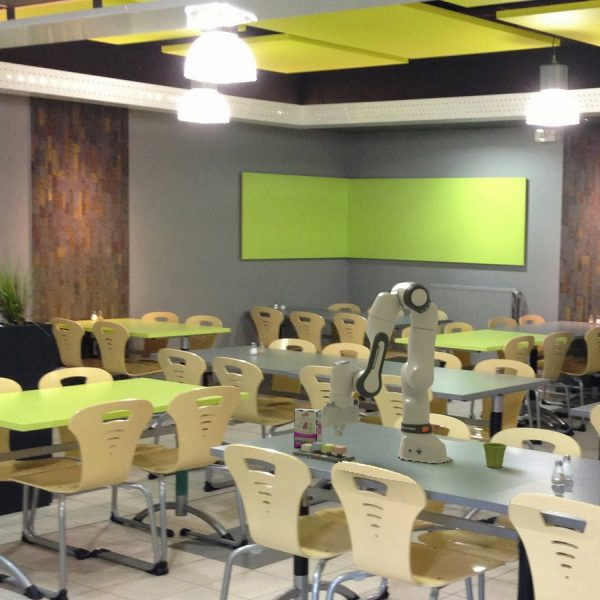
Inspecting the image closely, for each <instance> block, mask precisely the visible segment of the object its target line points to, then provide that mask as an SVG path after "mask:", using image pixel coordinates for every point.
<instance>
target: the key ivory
mask: <svg viewBox="0 0 600 600" xmlns="http://www.w3.org/2000/svg"><path fill="white" fill-rule="evenodd" d="M300 450H301V451H305V452H309V453H310V452H312V451H315V450H314V449H312V444H308V443H307V444H302V445H301V448H300Z"/></svg>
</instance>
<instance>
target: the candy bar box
mask: <svg viewBox="0 0 600 600" xmlns="http://www.w3.org/2000/svg"><path fill="white" fill-rule="evenodd" d="M322 410H323V409H313V408H312V409H311V408H300V407H298V408H295V409H294V413H293V418H294V419H293V448H296V449H301V445H302V444H307V443H308V444H312V443H314V442H323V441H322V440H323V439H322V437H323V434H322V433H323V426H322V425H321V414H322Z"/></svg>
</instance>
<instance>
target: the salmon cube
mask: <svg viewBox="0 0 600 600" xmlns="http://www.w3.org/2000/svg"><path fill="white" fill-rule="evenodd" d="M347 448H348V447H347V446H346V445H345V446H344V445H339V444H338V445H336V446H333V453H336V454H337V455H338V456H342V454H347V452H348V451H347V450H348V449H347Z"/></svg>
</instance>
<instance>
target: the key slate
mask: <svg viewBox="0 0 600 600" xmlns="http://www.w3.org/2000/svg"><path fill="white" fill-rule="evenodd" d="M323 444H327V443H326V442H323V441H322V442H314V443H312V449H314V450H316V452H321V450H322V445H323Z"/></svg>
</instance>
